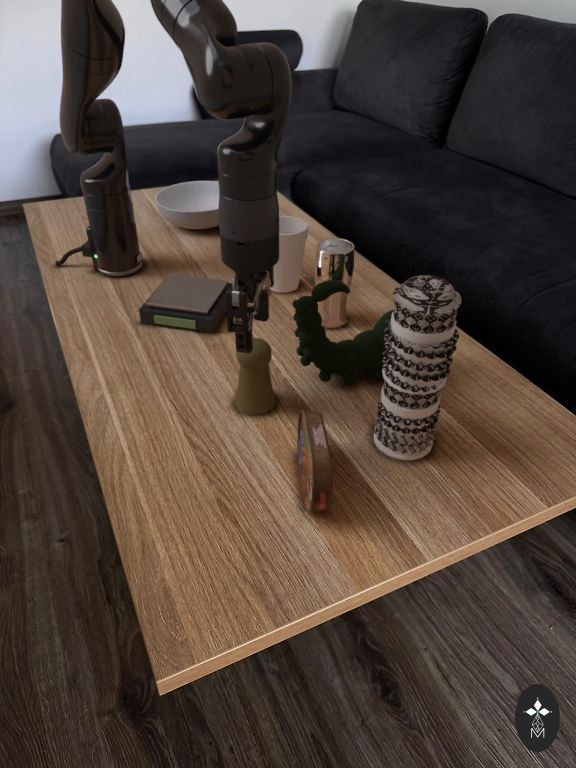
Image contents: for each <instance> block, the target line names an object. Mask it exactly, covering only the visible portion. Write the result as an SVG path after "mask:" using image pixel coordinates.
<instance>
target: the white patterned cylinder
mask: <svg viewBox="0 0 576 768" xmlns="http://www.w3.org/2000/svg"><path fill="white" fill-rule="evenodd" d="M392 294H393V298H394V305H393V309H394V311H393V313H392V314H390V316H389V319H388V320H386V322H385V325H386V326H387V327H385V333H386V335H385V336H384V340H385V343H384V349H385V350H384V351H383V355H384V358H383V360H382V361H383V363H384V364H383V366H382V373H383V382H384V383H383V385H382V387H381V391H380V394H379V396H378V401H377V409H376V414H375V419H374V428H373V432H374V433H373V441H374V444H375V445H376V447H377V449H378V450H379V451H380V452H381V453H383V454H385V455H386V456H388V457H390V458H393V459H395V460H400V461H415V460H418V459H422V458H424V457H425V456H427V455H428V454H429V453H430V452H431V450H432V447H433V444H434V440H435V436H434V435H435V434H436V432H437V428H436V427H437V423H438V422H439V414H440V413H441V404H440V402H441V398H442V396H441V391H442V389H443V388H444V387H445V384H446V382H447V379H448V375H449V374H450V372H451V369H450V368H451V364H452V363H453V362H454V359H453V357H452V356H453V354H454V353H455V351H457V348H458V347H457V343H458V340H459V339H460V334H459V333H458V332H459V330H458V329H457V328H456V327H457V323H458V322H457V318H456V317H457V315H458V311H459V307H460V306H461V304H462V301H463V299H462V297H461V294H460V293H459V292H458V291H457V290H455V289H454V286H453V285H452V284H451V283H450V282H449V281H447V280H446V279H444V278H441V277H439V276H434V275H425V274H424V275H422V274H421V275H416V276H412V277H410V278H408V279H406V280H405V281H404V282H403V283H401V284H399V285H397V286H396V287H395V289H393V292H392ZM390 325H391V327H390Z"/></svg>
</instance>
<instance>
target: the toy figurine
mask: <svg viewBox="0 0 576 768" xmlns="http://www.w3.org/2000/svg"><path fill="white" fill-rule="evenodd" d="M337 292H344V293H346V294H348V295H349V294H350V293H351V288H350V289H349V287H348V286H347V285H346V284H344V283H343V282H340V281H337V280H328V281H323V282H321V283H319V284H317V285H316V284H315V286H313V288H312V290H311V295H303V296H300V297H299V298H298V299H294V300H293V301H292V303H291V304H292V307H293V308H294V311H295V313H294V314H293V316H292V319H293V320H294V321H295V326H297V328H296V329H295V330H294V336H295V337H296V338H298V341H299V342H298V347H296V354H297V356H299V357H300V359H299V360H300V361H299V363H300V365H302V366H303V367H307V366H310V365H311V363H313V365H314V367H315V368H317V369H319V370H320V371H319V372H318V379H320V381H321V382H324V383H327V382H329V381H331V380H332V376H333V375H332V374H336V375H337V376H339V377H342V378H343V379H344V383H345V385H348V386H354V385H356V383H357V381H358V377H357V376H359V375H361V374H362V373H363V372H365V373H368V376H369V378H370V379H371V380H372V381H375V382H376V381H377V382H378V381H379V382H380V381H381V380H384V378H383V373H382V366H383V364H384V363H383V361H382V360H383V358H384V355H383V351H384V350H385V349H384V343H385V340H384V336H385V335H386V333H385V327H387V326H386V325H385V322H386V320H388V319H389V316H390V314H392V313H393V311H394V308H393V309H391V310H389V311H387V312H385V313H383V314H382V315H381V316H380V317H379V318H378V319H377V321H376V323H375V324H374V327H373V329H366V330H364V331H361V332H360V333H359V332H358V334H356V335H355V337H353V338H352V339H343V340H340V341H338V342H335V341H332V340H330V338H329V337H328V336H327V333H326V328H325V327H323V326H322V325H321V324H322V317H321V314H320V313H319V312H318V302H321V301H324V300H325V299H327V298H328V297H329V296H331V295H333V294H335V293H337ZM390 327H391V325H390Z"/></svg>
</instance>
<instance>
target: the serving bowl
mask: <svg viewBox="0 0 576 768" xmlns="http://www.w3.org/2000/svg"><path fill="white" fill-rule="evenodd" d="M154 203H155V206H156V209H157V211H158V212H159V214H160V215H161V217H162V218H163V219H165V221H166V222H168V223H170V224H171V225H174V226H176V227H178V228H183V229H188V230H205V229H212V228H216V227H219V212H218V208H219V181H215V180H213V181H212V180H194V181H192V180H191V181H184V182H179V183H175V184H171V185H169V186H166V187H164V188H163V189H161V190H159V191H158V192H157V194H155V197H154Z"/></svg>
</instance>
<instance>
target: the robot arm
mask: <svg viewBox="0 0 576 768" xmlns="http://www.w3.org/2000/svg"><path fill="white" fill-rule="evenodd" d="M60 1H61V2H60V3H61V5H60V47H61V63H62V64H61V66H62V70H61V71H62V84H61V95H60V103H59V128H60V134H61V138H62V141H63V143H64V146H65V148H66V149H67V150H68V151H69V152H70V153H71V154H73V155H74V156H79V157H87V156H94V155H100V154H101V155H102V154H103V156H102V158H101V159H100V160H99V161H98V162H97V163H96V164H94V165H93V166H91V167H89V168H87V169H86V170H85V171H83V172H82V173H81V174H80V178H79V181H80V182H79V183H80V187H81V192H82V197H83V201H84V206H85V211H86V215H87V220H88V221H87V222H88V226H87V227H86V228H85V233H86V237H87V241H85V242H84V243H83V244H81V246H79V247H75V248H72V249H70V250H68V251H66V252H64V254H63V256H62V257H61V258H60V259H59V260H56V261H55V266H56V267H58V266H62V265H64V264H65V263H66V262H67V260H68V259H69V258H70V257H71V256H72V255H75V254H77V253H82V256H83V257H86V258H91V260H92V266H93V270H94V271H95V272H98V273H100V274H101V275H103V276H106V277H114V278H117V277H119V278H120V277H125V276H131V275H133V274H135V273H137V272H139V271H140V270H141V269H142V268H143V251H142V250H140V249H141V248H140V243H139V235H138V229H137V223H136V216H135V211H134V203H133V198H132V192H131V191H132V190H131V184H130V177H129V167H128V160H127V152H126V151H127V150H126V142H125V141H126V140H125V132H124V124H123V118H122V114H121V111H120V109H119V107H118V105H117V104H116V102H115V101H114V99H111V98H99V97H100V96H101V95H102V94H103V93H104V92H105V91H106V90H107V89H108V87H109V86H110V85H111V84H112V83H113V82H114V80H115V79H116V78H117V77H118V75H119V72H120V71H121V68H122V65H123V62H124V61H123V60H124V51H125V44H126V43H125V42H126V27H125V23H124V20H123V18H122V15H121V13H120V11H119V9H118V8H117V6H116V5H115V3H114V2H113V1H112V0H60ZM149 1H150V6H151V9H152V11H153V14H154V15H155V17H156V19H157V21H158V22H159V24H160V26H161V27H162V28H163V30H164V31H165V32H166V34H167V35H168V36H169V38H170V40H171V41H172V43H174V44H175V46H176V47H177V48H178V50H179V51H180V52H181V55H182V57H183V60H184V63H185V66H186V68H187V70H188V73H189V75H190V78H191V81H192V84H193V87H194V91H195V95H196V97H197V100H198V102H199V104H200V105H201V107H202V108H203V110H204V111H206V112H207V113H208V114H209V115H211V117H214V118H216V119H218V120H220V121H235V120H239V119H244V121H243V123H242V126H241V128H240V129H239V130H238V131H237V132H236V133H235V134H233V135H232V136H230V137H227V138H226V139H224V140H223V141H222V142H221V143H220V144H219V145H218V148H217V152H216V164H217V165H216V166H217V177H218V182H219V208H218V212H219V226H218V227H219V240H220V241H219V243H220V256H221V261H222V263H223V264H224V266H225V267H227V268H228V269H230V270H232V271H233V272H234V273H235V275H234V276H233V278H232V283H233V284H232V287H233V289H227V292H226V306H227V311H226V329H227V332H228V333H234V338H235V339H234V340H235V351H236V350H237V351H238V352H242V353H251V351H252V350H253V338H254V337H253V327H254V325H253V323H254V320H255V321H260V322H267V321H268V320H269V319H270V297H271V294H272V290H271V289H270V287H273V285H274V271H273V266H274V265H275V264H276V263H277V262H278V260H279V216H280V204H279V198H278V197H279V196H278V160H277V159H278V153H279V149H280V146H281V143H282V139H283V134H284V129H285V126H286V121H287V117H288V113H289V109H290V106H291V100H292V91H293V77H292V70H291V66H290V64H289V61H288V59H287V57H286V54H285V53H284V51H283V50H281V49H280V47H279V46H277V45H276V44H274V43H271V42H265V41H263V42H252V43H246V44H245V43H244V44H237V45H236V43H237V38H238V24H237V21H236V19H235V17H234V15H233V12H232V11H231V10H230V9H229V7H228V5H227V4H226V2H224V0H149ZM249 304H252V305H250V306H249Z"/></svg>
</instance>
